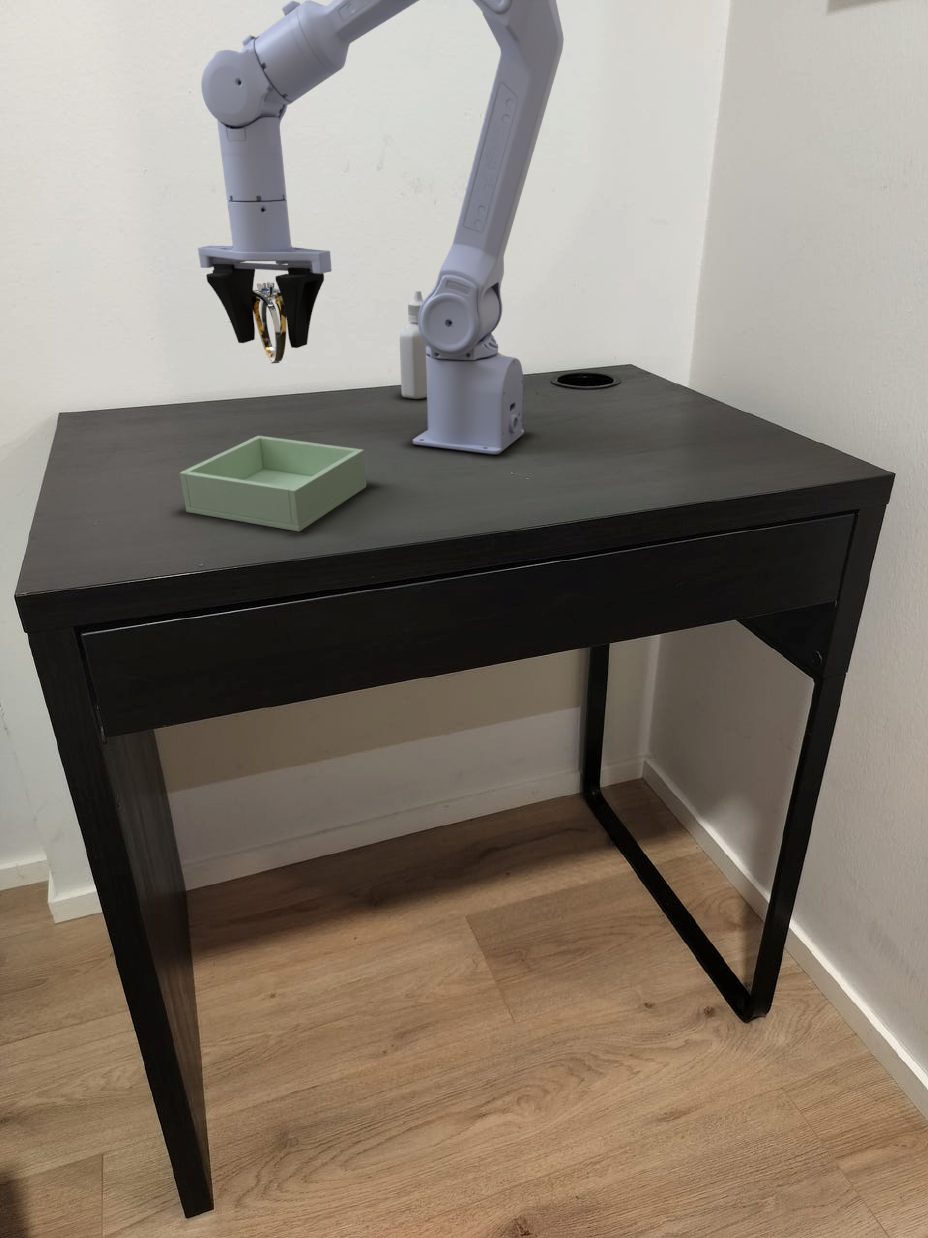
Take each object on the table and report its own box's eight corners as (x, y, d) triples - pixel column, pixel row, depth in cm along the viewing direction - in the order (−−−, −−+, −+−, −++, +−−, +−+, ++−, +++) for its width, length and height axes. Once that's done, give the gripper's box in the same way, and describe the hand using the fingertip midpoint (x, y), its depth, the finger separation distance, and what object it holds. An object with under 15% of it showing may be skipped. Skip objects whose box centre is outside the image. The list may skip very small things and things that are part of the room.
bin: (366, 486, 80) (364, 449, 78) (299, 532, 71) (294, 490, 69) (262, 471, 84) (258, 435, 82) (186, 512, 74) (179, 472, 73)
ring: (252, 357, 96) (243, 279, 92) (281, 355, 97) (273, 277, 93) (267, 371, 90) (257, 288, 86) (297, 368, 91) (289, 286, 87)
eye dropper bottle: (392, 393, 109) (387, 290, 103) (433, 387, 111) (430, 286, 105) (408, 401, 105) (404, 295, 100) (449, 395, 108) (448, 291, 102)
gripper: (342, 198, 86) (352, 341, 93) (221, 196, 92) (238, 331, 98) (303, 203, 81) (316, 354, 87) (176, 200, 86) (198, 343, 92)
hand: (272, 343), depth 92 cm, fingers closed on ring, 6 cm apart
